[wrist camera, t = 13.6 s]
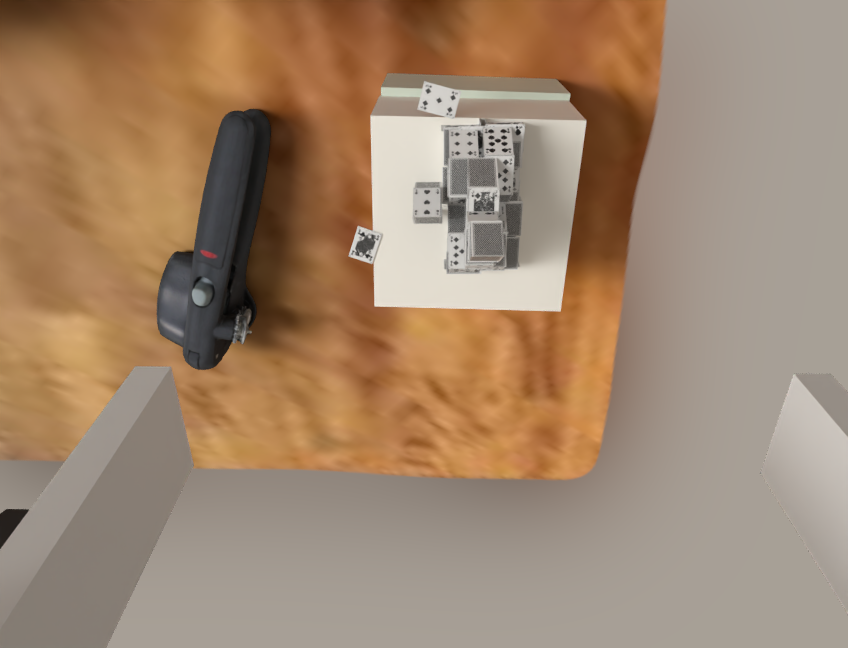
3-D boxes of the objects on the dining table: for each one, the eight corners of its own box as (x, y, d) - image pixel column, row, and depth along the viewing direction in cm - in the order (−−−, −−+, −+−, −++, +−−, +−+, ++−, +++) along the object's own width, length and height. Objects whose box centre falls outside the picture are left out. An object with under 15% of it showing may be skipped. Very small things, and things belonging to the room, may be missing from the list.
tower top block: (382, 267, 39) (374, 306, 35) (379, 95, 34) (370, 115, 30) (547, 272, 39) (560, 311, 35) (568, 100, 34) (586, 120, 30)
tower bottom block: (387, 230, 43) (381, 261, 39) (387, 72, 39) (380, 87, 34) (536, 236, 43) (547, 267, 39) (555, 78, 39) (570, 93, 34)
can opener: (252, 351, 49) (231, 395, 44) (159, 322, 47) (126, 364, 43) (316, 124, 40) (299, 147, 35) (205, 83, 39) (171, 100, 34)
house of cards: (334, 82, 29) (304, 118, 23) (527, 79, 29) (554, 115, 22) (349, 264, 34) (327, 339, 27) (516, 263, 34) (536, 338, 27)
